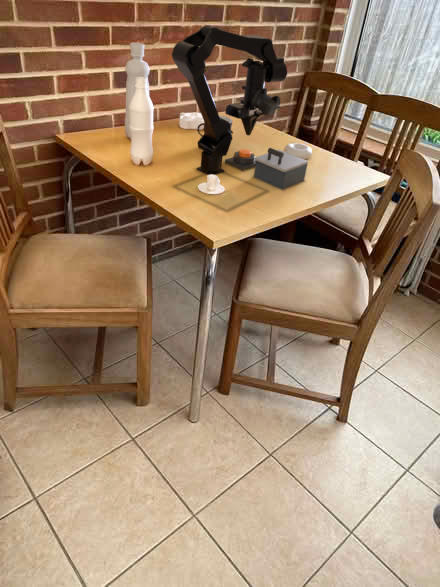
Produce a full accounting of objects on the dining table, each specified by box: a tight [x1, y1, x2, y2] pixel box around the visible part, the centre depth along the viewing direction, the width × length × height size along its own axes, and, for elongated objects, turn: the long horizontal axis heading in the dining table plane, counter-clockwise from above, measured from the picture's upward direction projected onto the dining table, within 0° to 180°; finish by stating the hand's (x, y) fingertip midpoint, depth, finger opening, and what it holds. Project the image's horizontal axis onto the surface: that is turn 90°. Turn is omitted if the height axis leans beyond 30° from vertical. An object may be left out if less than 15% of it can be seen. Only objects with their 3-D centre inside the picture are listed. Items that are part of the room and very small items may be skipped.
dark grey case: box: [253, 160, 309, 191], centre depth 143 cm, size 12×12×6 cm
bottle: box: [124, 42, 151, 140], centre depth 153 cm, size 9×9×30 cm
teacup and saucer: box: [197, 174, 226, 195], centre depth 133 cm, size 9×8×4 cm
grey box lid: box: [255, 147, 309, 172], centre depth 140 cm, size 12×12×4 cm
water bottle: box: [129, 77, 155, 166], centre depth 137 cm, size 7×7×25 cm
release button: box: [238, 148, 252, 158], centre depth 151 cm, size 4×4×2 cm
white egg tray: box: [178, 111, 221, 131], centre depth 180 cm, size 3×18×15 cm
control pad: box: [224, 150, 256, 172], centre depth 152 cm, size 10×8×3 cm
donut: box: [283, 142, 313, 160], centre depth 163 cm, size 10×4×10 cm
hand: (248, 135), depth 147 cm, fingers closed
